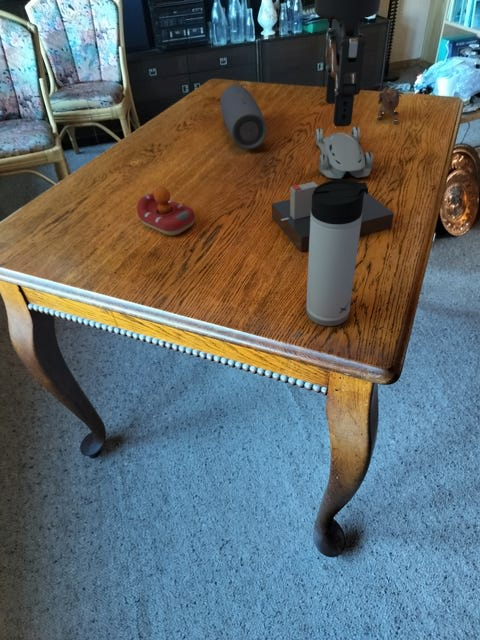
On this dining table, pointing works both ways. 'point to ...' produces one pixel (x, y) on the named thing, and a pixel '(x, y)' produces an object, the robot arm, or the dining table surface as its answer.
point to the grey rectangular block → (301, 200)
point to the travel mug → (333, 249)
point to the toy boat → (164, 213)
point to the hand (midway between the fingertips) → (337, 113)
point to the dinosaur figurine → (389, 102)
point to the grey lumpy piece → (343, 155)
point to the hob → (299, 229)
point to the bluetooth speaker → (243, 117)
